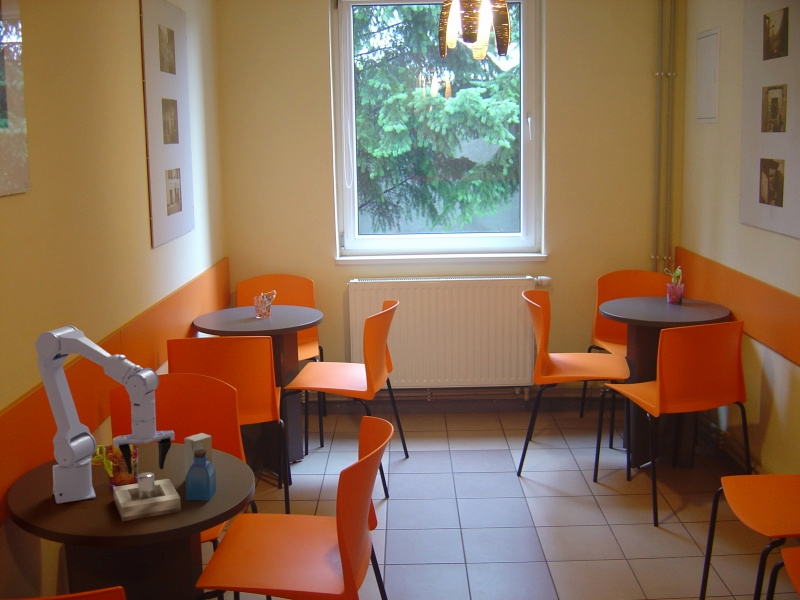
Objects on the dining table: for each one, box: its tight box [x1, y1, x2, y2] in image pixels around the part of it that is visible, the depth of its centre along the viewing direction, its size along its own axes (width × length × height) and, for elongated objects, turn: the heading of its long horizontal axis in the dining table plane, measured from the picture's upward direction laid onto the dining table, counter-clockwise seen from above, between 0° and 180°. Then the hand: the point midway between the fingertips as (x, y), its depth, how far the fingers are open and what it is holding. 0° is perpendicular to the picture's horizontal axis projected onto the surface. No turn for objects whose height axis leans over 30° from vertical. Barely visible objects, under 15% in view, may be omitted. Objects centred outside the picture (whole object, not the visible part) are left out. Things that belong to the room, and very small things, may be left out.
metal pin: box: [137, 472, 156, 500], centre depth 215 cm, size 4×4×7 cm
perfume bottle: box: [185, 449, 217, 501], centre depth 222 cm, size 6×6×12 cm
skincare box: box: [184, 432, 213, 482], centre depth 232 cm, size 6×4×12 cm
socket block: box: [112, 478, 182, 522], centre depth 215 cm, size 14×14×4 cm
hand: (145, 470), depth 214 cm, fingers open, 7 cm apart
